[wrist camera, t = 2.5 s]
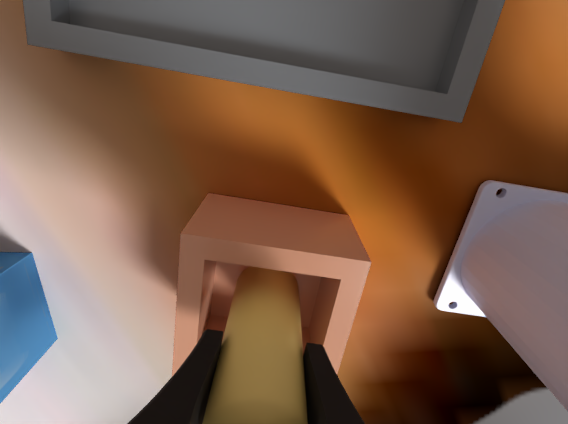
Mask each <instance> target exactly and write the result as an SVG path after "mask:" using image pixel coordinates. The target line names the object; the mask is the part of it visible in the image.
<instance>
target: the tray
mask: <svg viewBox="0 0 568 424" xmlns="http://www.w3.org/2000/svg"><path fill="white" fill-rule="evenodd" d="M504 2H505V0H23V5H24V15H25V24H26V34H27V44H28V45H33V46H39V47H44V48H50V49H56V50H61V51H67V52H72V53H78V54H83V55H89V56H94V57H100V58H105V59H111V60H116V61H122V62H128V63H133V64H139V65H144V66H150V67H155V68H161V69H166V70H172V71H177V72H183V73H188V74H194V75H200V76H205V77H211V78H216V79H222V80H227V81H233V82H238V83H244V84H249V85H255V86H261V87H266V88H272V89H277V90H283V91H288V92H294V93H299V94H305V95H310V96H316V97H321V98H327V99H333V100H338V101H344V102H349V103H355V104H360V105H366V106H371V107H377V108H382V109H388V110H394V111H399V112H405V113H410V114H416V115H421V116H427V117H432V118H438V119H443V120H449V121H454V122H460V123H462V120H463V117H464V114H465V112H466V109H467V106H468V103H469V100H470V98H471V95H472V92H473V89H474V86H475V84H476V81H477V78H478V75H479V72H480V69H481V67H482V64H483V61H484V58H485V55H486V53H487V50H488V47H489V44H490V41H491V39H492V36H493V33H494V30H495V27H496V25H497V22H498V19H499V16H500V13H501V11H502V8H503V5H504Z"/></svg>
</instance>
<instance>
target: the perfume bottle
mask: <svg viewBox="0 0 568 424" xmlns="http://www.w3.org/2000/svg"><path fill="white" fill-rule="evenodd" d="M57 339H58V338H57V335H56V332H55V328H54V325H53V321H52V318H51V315H50V311H49V308H48V305H47V301H46V298H45V295H44V291H43V288H42V285H41V281H40V278H39V274H38V271H37V268H36V264H35V261H34V258H33V254H32V253H20V252H0V403H1V402H2V401H3V400H4V399H5V398H6V396H7V395H8V394H9V393H10V392H11V391H12V390H13V389H14V387H15V386H16V385H17V384H18V383H19V382H20V381H21V380H22V378H23V377H24V376H25V375H26V374H27V373H28V372H29V370H30V369H31V368H32V367H33V366H34V365H35V364H36V363H37V361H38V360H39V359H40V358H41V357H42V356H43V355H44V353H45V352H46V351H47V350H48V349H49V348H50V347H51V346H52V344H53V343H54V342H55V341H56V340H57Z"/></svg>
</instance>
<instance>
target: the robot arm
mask: <svg viewBox="0 0 568 424" xmlns="http://www.w3.org/2000/svg"><path fill="white" fill-rule="evenodd" d="M500 188H502V192H501V193H500V194H499V195H496V192H497V191H498V190H499V189H500ZM451 302H453V304H451V305H449V303H451ZM434 305H435V306H436V308H437V309H439V310H441V311H448V312H455V313H462V314H469V315H476V316H483V317H487V318H488V319H489V321H490V322H491V323H492V324H493V325H494V326H495V328H496V329H497V330H498V331H499V332H500V333H501V334H502V336H503V337H504V338H505V339H506V340H507V341H508V343H509V344H510V345H511V346H512V347H513V348H514V350H515V351H516V352H517V353H518V354H519V355H520V357H521V358H522V359H523V360H524V361H525V362H526V363H527V365H528V366H529V367H530V368H531V369H532V370H533V372H534V373H535V374H536V375H537V376H538V377H539V379H540V380H541V381H542V382H543V383H544V384H545V386H546V387H547V388H548V389H549V390H550V391H551V392H552V393H553V394H554V396H555V397H556V398H557V399H558V400H559V402H560V403H561V404H562V405H563V406H564V408H565V409H566V410H567V411H568V193H564V192H558V191H552V190H546V189H541V188H535V187H529V186H523V185H517V184H511V183H505V182H499V181H494V180H488V181H485V182H483V183H482V184H481V185H480V187H479V189H478V191H477V194H476V196H475V199H474V201H473V204H472V206H471V209H470V211H469V214H468V216H467V219H466V221H465V224H464V226H463V229H462V231H461V234H460V236H459V239H458V241H457V243H456V246H455V248H454V251H453V253H452V256H451V258H450V261H449V263H448V266H447V268H446V271H445V273H444V276H443V278H442V281H441V283H440V286H439V288H438V291H437V293H436V296H435V298H434ZM222 338H223V331H218V330H210V329H207V330H205V331H204V332H203V334H202V336H201V338H200V339H199V341H198V343H197V344H196V346H195V347H194V349H193V350H192V352H191V353H190V354H189V356H188V357H187V358H186V360H185V361H184V362H183V364H182V365H181V366H180V368H179V369H178V370H177V371H176V373H175V374H174V375H173V376H172V378H171V379H170V380H169V381H168V382H167V383H166V384H165V386H164V387H163V388H162V389H161V390H160V391H159V393H158V394H157V395H156V396H155V397H154V398H153V399H152V400H151V401H150V402H149V403H148V404H147V405H146V406H145V407H144V408H143V409H142V410H141V411H140V412H139V413H138V414H137V415H136V416H135V417H134V418H133V419H132V420H131V421H130V422H129V423H128V424H202V423H203V419H204V415H205V411H206V407H207V402H208V398H209V394H210V390H211V386H212V382H213V378H214V374H215V370H216V367H217V362H218V358H219V354H220V350H221V346H222ZM303 360H304V375H305V390H306V405H307V420H308V424H365V423H364V421H363V420H362V418H361V417H360V415H359V414H358V412H357V410H356V409H355V407H354V405H353V404H352V402H351V400H350V398H349V397H348V395H347V393H346V391H345V389H344V387H343V386H342V384H341V382H340V380H339V378H338V376H337V374H336V372H335V370H334V368H333V366H332V364H331V362H330V360H329V357H328V355H327V353H326V351H325V348H324V347H323V345H321V344H314V343H306V347H305V351H304V355H303Z"/></svg>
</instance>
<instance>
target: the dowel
mask: <svg viewBox="0 0 568 424" xmlns="http://www.w3.org/2000/svg"><path fill="white" fill-rule="evenodd" d="M202 424H308V420H307V405H306V390H305V375H304V360H303V345H302V330H301V315H300V300H299V286H298V282H297V279H296V278H295V276H294V275H293V273H292V272H286V271H279V270H273V269H266V268H259V267H252V266H249V267H248V268H246V269H245V270H244V271H243V272H242V273H241V274H240V276H239V277H238V280H237V283H236V287H235V291H234V295H233V299H232V303H231V307H230V311H229V316H228V320H227V324H226V328H225V332H224V336H223V340H222V346H221V350H220V354H219V358H218V362H217V367H216V370H215V374H214V378H213V382H212V386H211V390H210V394H209V398H208V402H207V407H206V411H205V415H204V419H203V423H202Z"/></svg>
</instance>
